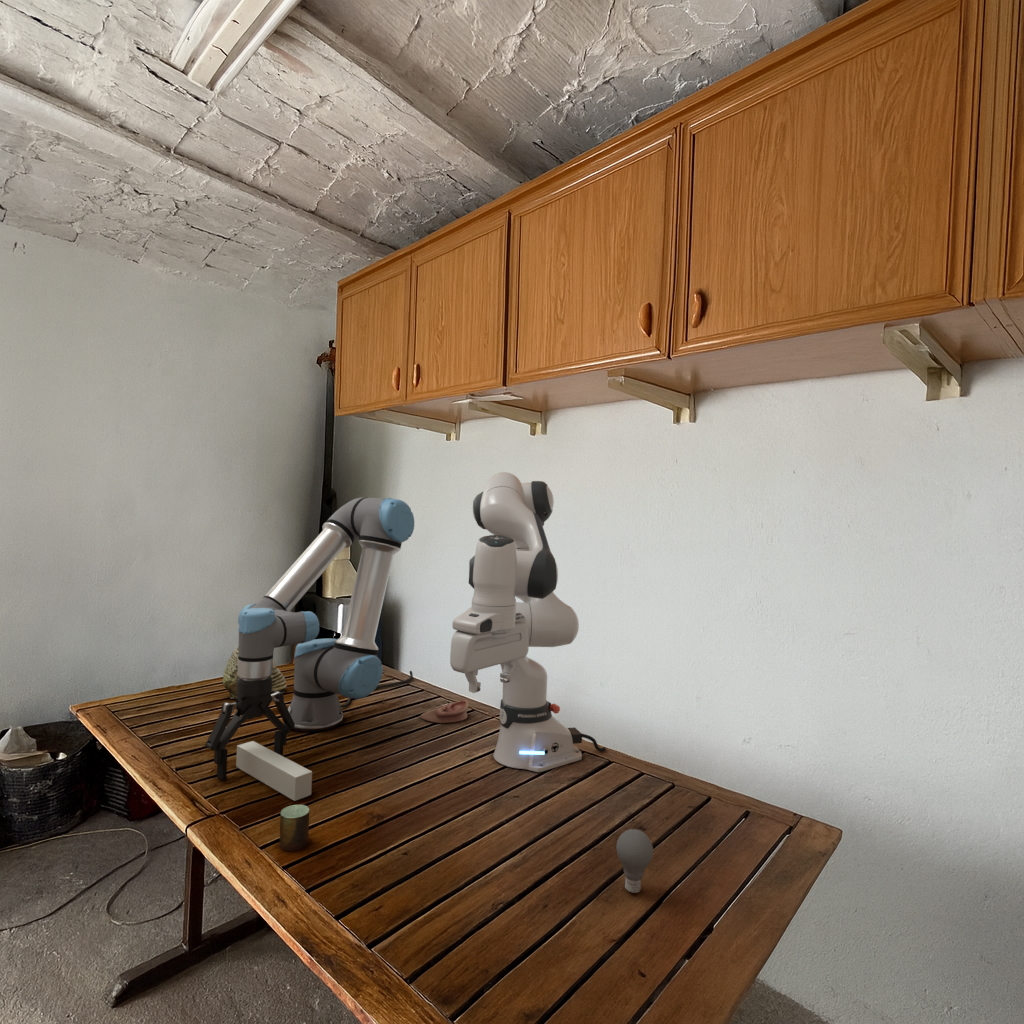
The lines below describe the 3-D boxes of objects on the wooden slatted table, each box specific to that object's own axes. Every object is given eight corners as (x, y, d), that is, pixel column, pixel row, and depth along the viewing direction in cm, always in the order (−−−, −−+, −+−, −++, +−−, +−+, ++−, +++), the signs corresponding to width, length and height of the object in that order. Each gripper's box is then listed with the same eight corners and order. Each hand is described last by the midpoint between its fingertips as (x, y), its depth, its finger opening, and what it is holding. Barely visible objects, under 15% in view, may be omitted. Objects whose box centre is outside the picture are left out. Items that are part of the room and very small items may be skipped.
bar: (252, 761, 149) (253, 740, 149) (311, 794, 134) (312, 771, 134) (235, 766, 146) (236, 745, 146) (294, 801, 131) (295, 777, 131)
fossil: (218, 695, 195) (220, 647, 195) (278, 685, 208) (279, 640, 207) (228, 703, 189) (230, 653, 188) (289, 692, 201) (290, 645, 201)
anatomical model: (416, 706, 181) (429, 695, 192) (416, 720, 181) (429, 708, 192) (461, 711, 178) (471, 699, 190) (460, 725, 178) (471, 712, 190)
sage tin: (298, 833, 119) (299, 801, 119) (313, 843, 116) (315, 810, 116) (273, 843, 115) (275, 811, 115) (289, 854, 112) (290, 820, 112)
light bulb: (610, 879, 108) (613, 822, 108) (644, 879, 109) (647, 822, 109) (619, 902, 102) (622, 840, 102) (655, 901, 103) (658, 840, 103)
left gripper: (294, 664, 157) (290, 748, 158) (191, 683, 138) (187, 780, 138) (311, 670, 153) (308, 757, 153) (208, 691, 133) (203, 791, 133)
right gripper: (513, 609, 136) (510, 673, 136) (446, 621, 120) (443, 693, 120) (537, 613, 132) (534, 679, 132) (470, 626, 116) (467, 701, 116)
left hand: (250, 768), depth 145 cm, fingers open, 13 cm apart
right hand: (490, 686), depth 126 cm, fingers open, 8 cm apart
